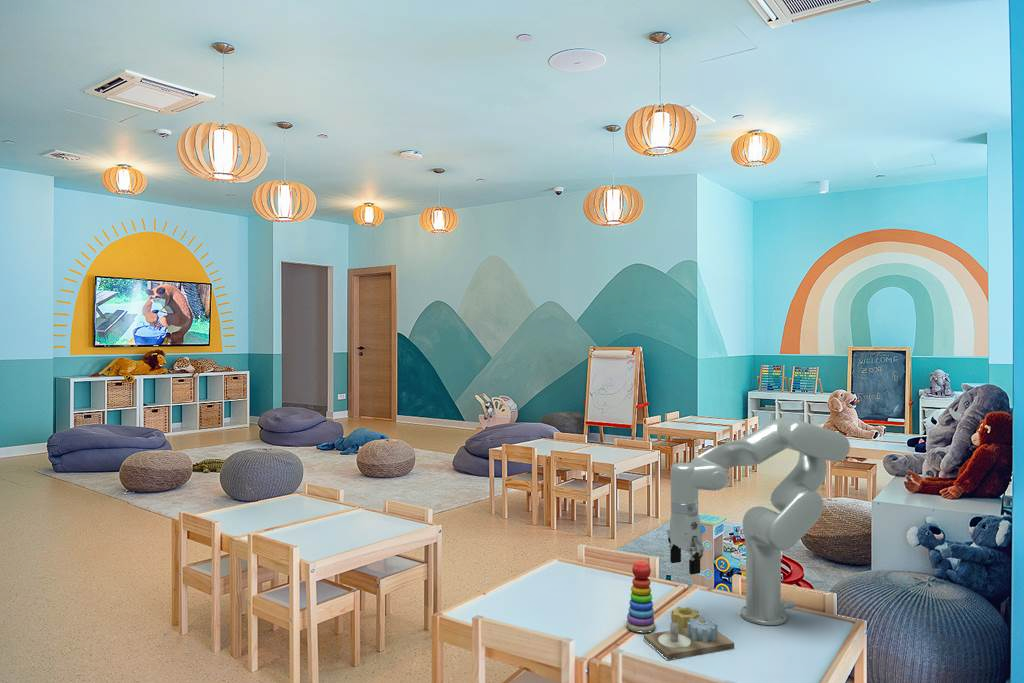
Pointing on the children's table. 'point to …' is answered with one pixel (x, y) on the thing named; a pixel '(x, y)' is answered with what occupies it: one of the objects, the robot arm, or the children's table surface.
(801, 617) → the children's table surface
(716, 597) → the children's table surface
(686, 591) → the children's table surface
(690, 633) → the slate gear
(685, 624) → the ochre gear
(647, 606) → the stacking toy
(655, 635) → the gear board
